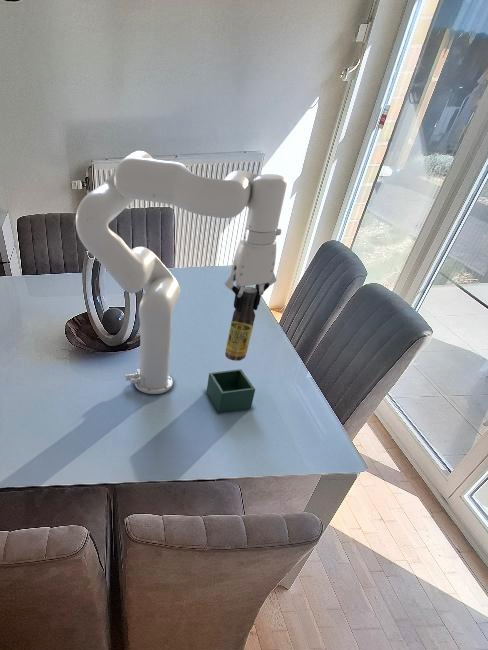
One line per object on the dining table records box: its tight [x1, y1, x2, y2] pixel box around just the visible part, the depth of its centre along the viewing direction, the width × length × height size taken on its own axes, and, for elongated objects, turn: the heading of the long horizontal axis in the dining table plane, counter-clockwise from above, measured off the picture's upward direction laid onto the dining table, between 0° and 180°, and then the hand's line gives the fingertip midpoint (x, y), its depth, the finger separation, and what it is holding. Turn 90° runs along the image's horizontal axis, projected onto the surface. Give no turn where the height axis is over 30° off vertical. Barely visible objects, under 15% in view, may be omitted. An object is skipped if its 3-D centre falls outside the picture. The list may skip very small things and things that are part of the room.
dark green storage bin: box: [206, 368, 256, 413], centre depth 143 cm, size 11×12×7 cm
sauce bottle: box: [224, 286, 257, 362], centre depth 129 cm, size 7×6×20 cm
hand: (245, 308), depth 126 cm, fingers closed on sauce bottle, 4 cm apart
